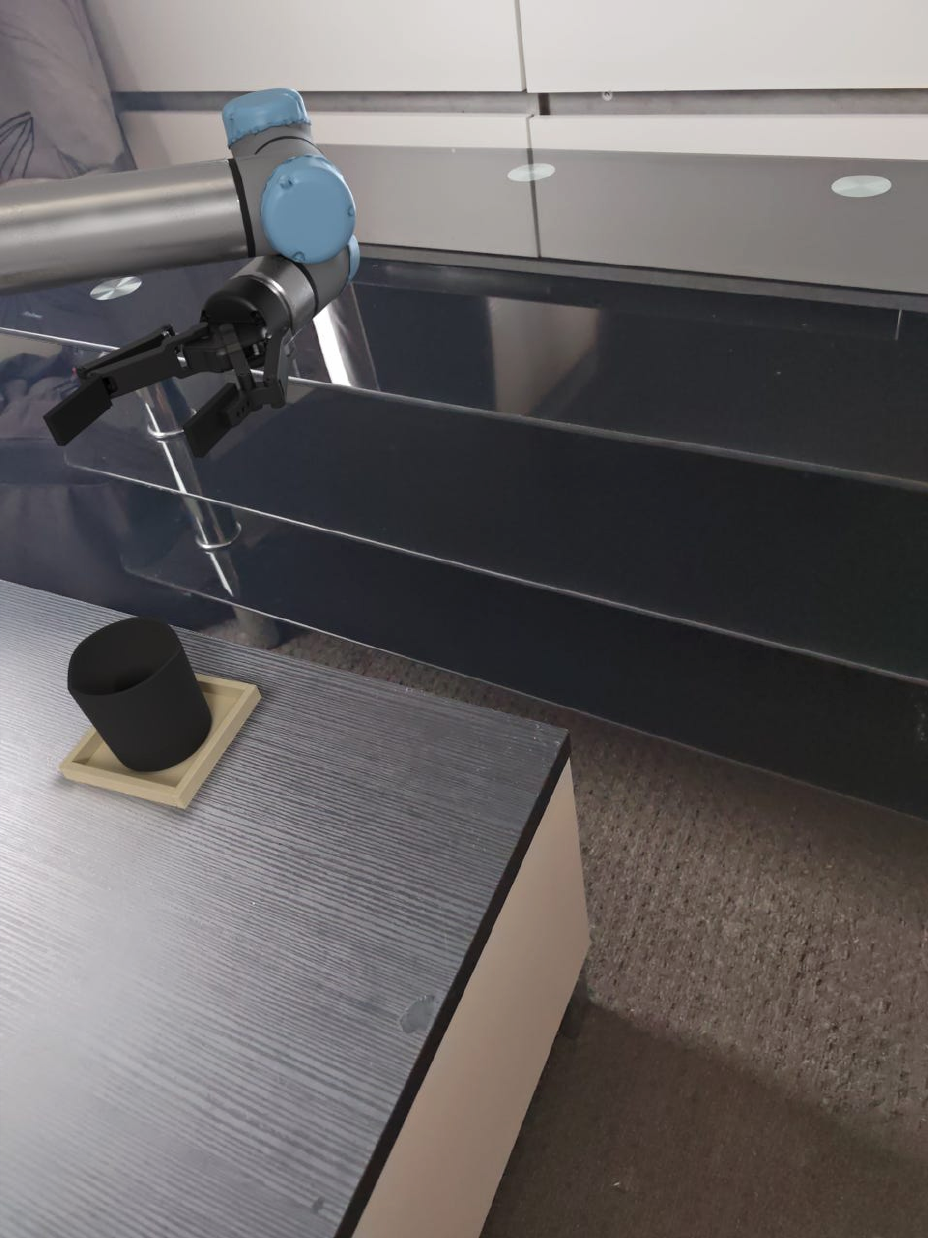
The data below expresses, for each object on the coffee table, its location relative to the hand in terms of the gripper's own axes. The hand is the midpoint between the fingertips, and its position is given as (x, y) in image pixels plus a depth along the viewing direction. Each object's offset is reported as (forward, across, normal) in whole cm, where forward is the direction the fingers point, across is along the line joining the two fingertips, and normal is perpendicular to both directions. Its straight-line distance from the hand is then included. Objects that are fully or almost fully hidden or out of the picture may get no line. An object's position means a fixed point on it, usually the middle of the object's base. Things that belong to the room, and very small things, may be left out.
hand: (120, 437), depth 71 cm
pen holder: (+10, 0, -25) cm, 27 cm away
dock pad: (+10, 0, -25) cm, 27 cm away
